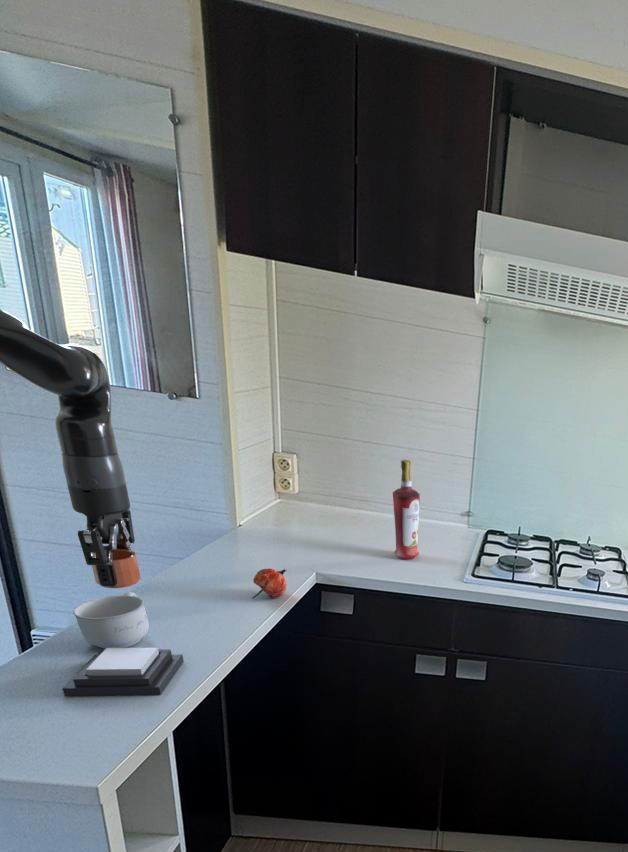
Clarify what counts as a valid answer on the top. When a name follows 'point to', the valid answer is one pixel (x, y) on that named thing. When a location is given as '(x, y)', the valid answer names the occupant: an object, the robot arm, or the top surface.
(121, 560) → the orange cup
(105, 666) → the pale square tile
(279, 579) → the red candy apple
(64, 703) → the top surface
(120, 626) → the teacup
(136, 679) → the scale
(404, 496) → the liquor
